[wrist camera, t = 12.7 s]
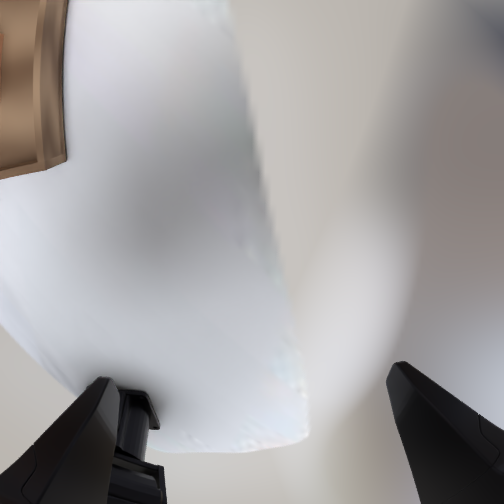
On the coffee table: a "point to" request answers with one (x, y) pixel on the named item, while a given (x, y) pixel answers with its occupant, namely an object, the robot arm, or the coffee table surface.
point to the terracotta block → (0, 46)
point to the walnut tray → (31, 86)
